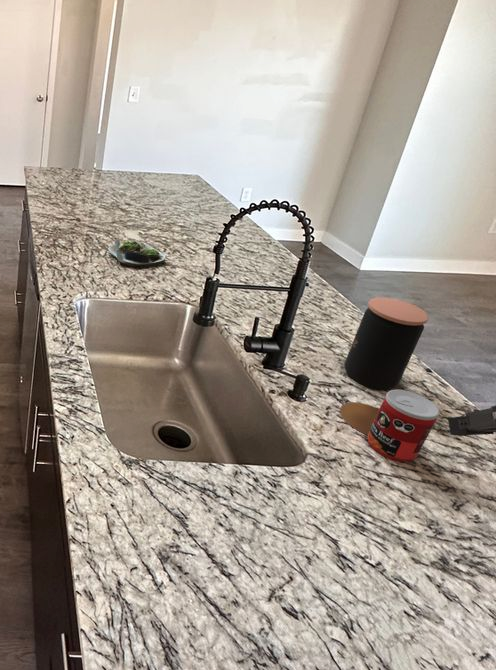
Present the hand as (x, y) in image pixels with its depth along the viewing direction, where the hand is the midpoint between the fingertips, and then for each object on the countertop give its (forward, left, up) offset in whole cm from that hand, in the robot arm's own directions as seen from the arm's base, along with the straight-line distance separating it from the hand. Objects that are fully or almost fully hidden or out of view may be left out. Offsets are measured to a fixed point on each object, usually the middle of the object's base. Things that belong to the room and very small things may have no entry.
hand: (454, 426), depth 88 cm
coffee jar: (+4, -33, -14) cm, 37 cm away
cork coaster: (+6, -16, -14) cm, 22 cm away
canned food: (+3, -9, -14) cm, 17 cm away
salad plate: (+66, -72, -14) cm, 99 cm away
